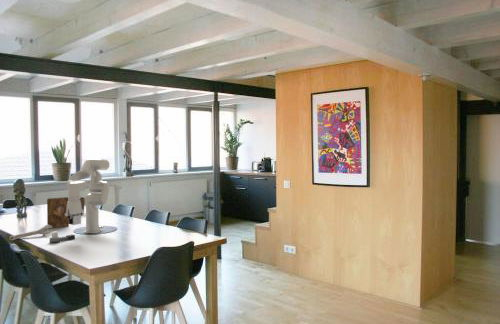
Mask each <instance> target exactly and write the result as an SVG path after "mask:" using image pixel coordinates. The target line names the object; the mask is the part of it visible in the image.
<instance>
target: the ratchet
mask: <svg viewBox="0 0 500 324" xmlns="http://www.w3.org/2000/svg"><path fill="white" fill-rule="evenodd" d="M74 239H76V234H67V235H65V236H61V237H60V236H59V231H51V237H50V238H49V243H50V244H58V243H61V242H65V240H66V241H70V240H71V241H72V240H74ZM60 241H61V242H60Z"/></svg>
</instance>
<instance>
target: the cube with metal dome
mask: <svg viewBox="0 0 500 324" xmlns="http://www.w3.org/2000/svg"><path fill="white" fill-rule="evenodd" d="M71 219H72V224H70V225H72V226H78V225H80V224H82V215H78V214H74V215H72V218H71Z"/></svg>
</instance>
